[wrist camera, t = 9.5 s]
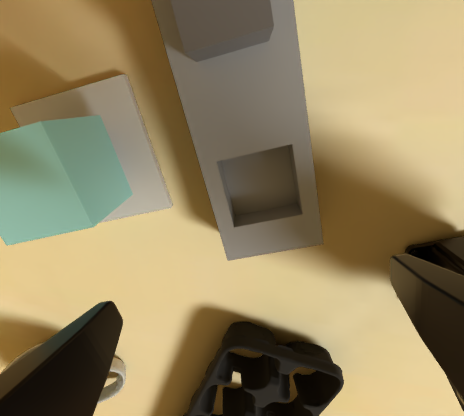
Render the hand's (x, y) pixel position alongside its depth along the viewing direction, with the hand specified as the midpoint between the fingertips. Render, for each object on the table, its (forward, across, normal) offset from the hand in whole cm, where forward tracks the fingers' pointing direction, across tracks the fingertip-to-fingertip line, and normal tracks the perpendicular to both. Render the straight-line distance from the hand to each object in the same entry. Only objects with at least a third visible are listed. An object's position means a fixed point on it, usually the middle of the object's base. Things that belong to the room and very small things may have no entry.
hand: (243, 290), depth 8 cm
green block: (+12, +11, -4) cm, 17 cm away
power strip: (+13, -1, -5) cm, 14 cm away
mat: (+13, +11, -4) cm, 17 cm away
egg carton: (+14, +8, +29) cm, 33 cm away
